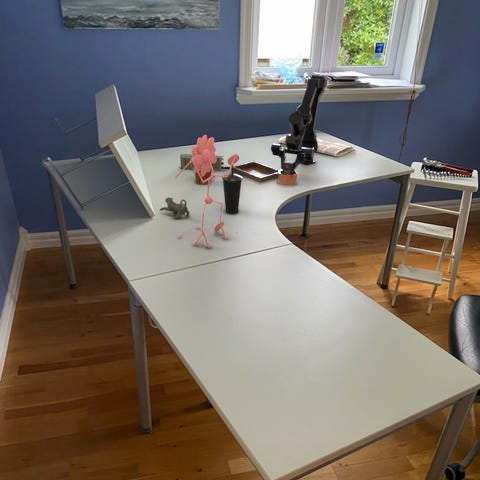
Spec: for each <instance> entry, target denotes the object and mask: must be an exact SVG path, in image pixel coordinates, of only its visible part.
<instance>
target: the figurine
mask: <svg viewBox="0 0 480 480" xmlns="http://www.w3.org/2000/svg"><path fill="white" fill-rule="evenodd" d="M196 140H197V141H196V146H192V147H191V154H192V155H193V158H192V159H191V161H190V162H189V163H188V164H187V165H186V166H185V167H184V168H183V169H181V170H180V172H179V173H178V174H176V176H175V177H174V178H175V179H177V178H178V177H179V176H180V175H181V174H182V173H183V171H185V170H186V169H185V168H186V167H187V166H188V165H189V164H190V163H191V162H192V164H193V165H194V168H193V169H192V171H193V173H194V174H195V173H196V172H197V173H198V175H199V177H200V179H201V181H202V183H204V182H206V181H208V184H207V191H206V196H205V198H204V199H203V200H204V206H203V209H202V219H201V220H202V221H201V231H200V234H199V236H198V237H197V239H196V241H195V242H194V245H196V244H197V243H198V241H199V240H200V239H201V237H202V236H203V238H204V240H205V241H204V242H205V243H206V246H207V248H208V249H210V244H209V242H208V239H207V237H206V233H205V231H206V229H204V217H205V210H206V205H211V204H212V203H213V202H214V203H217V204H220V215H219V221H218V223H217V224H216V225H215V227H214V228H213V230H214V232H215V233H217V232H219V231H220V230H221V232H222V235H223V237H224V240H227V236H226V232H225V230H224V224H225V222H224V221H223V220H222V213H223V203H222V202H219V201H217V200H214V199H213V197H212V196H210V195H209V192H210V184H211V180H213V179H215V178H222V177H224V178H228V177H227V176H229V174H231V168H232V166H233V167H234V165H235V164H237V163H238V161H239V160H240V156H239V154H238V153H235V154H232V155H230V156H229V158H227V164H228V165H229V167H230V169H229V170H228V171H227V173H226V175H227V176H224V175H219V174H216V173H215V171H214V170H213V167H212V165H211V163H212V164H214V163H216V162H217V158H216V156H217V155H216V151H217V149H216V147H215V145H214V144H215V138H214V137H209V138H208V136H207V134H204V135H203V136H202V137H201V136H200V137H198V138H197V139H196ZM210 169H211V177H209V178H207V179H206V180H204V181H203V179H202V177H203V176H204V175H205V174H206V172H210ZM200 170H201V172H200V173H199V171H200ZM200 174H201V175H200ZM201 176H202V177H201ZM197 229H199V227H196V228H195V230H197ZM190 231H194V228H193V229H189V230H185V231H183V233H182V234H180V237H179V238H181V237H182V236H183V235H184V234H186V233H188V232H190ZM235 233H236V234H238V232H237V231H235ZM177 240H178V241H177V242H178V243H179V241H180V239H177Z"/></svg>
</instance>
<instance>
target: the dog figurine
mask: <svg viewBox="0 0 480 480" xmlns="http://www.w3.org/2000/svg"><path fill="white" fill-rule="evenodd" d="M164 202H165V203H166V205H167V207H165V206H164V207H161V208H159V211H160V212H161V211H168V212H172V213H174V214H176V215H175V216H174V217H173V219H174V220H176V219H182V218H183V216H186V217H189V216H190V211H189V210H188V206H187V204H188V203H187V200H186V199H181V200H180V202H179V203H176V202H175V201H174V198H173V197H166V198H165V200H164ZM183 202H184V203H183ZM177 214H178V215H177Z"/></svg>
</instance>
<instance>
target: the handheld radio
mask: <svg viewBox="0 0 480 480" xmlns="http://www.w3.org/2000/svg"><path fill="white" fill-rule="evenodd" d="M179 158H180V169H181V170H183V168H184V167H185V166H186V165H187V164H188V163H189V162H190V161H191V159H192V153H180V154H179ZM216 158H217V162H216V163H214V164H212V167H213V170H214V172H224V170H226V171H227V170H228V171H229V169H230V166H223V165H225V162H224V155H216ZM193 168H194V165H193V164H192V162H191V163H190V164H189V165H188V166H187V167H186V168H185V169H184V170H193Z"/></svg>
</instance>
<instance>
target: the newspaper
mask: <svg viewBox="0 0 480 480" xmlns="http://www.w3.org/2000/svg"><path fill="white" fill-rule="evenodd" d="M288 135H289V136H290V135H291V133H290V134H288ZM285 139H286V135H284V136H282V137H280V138H279V139H278V140H277V142H278V144H279V143H280V144H283V145H286V143H285ZM316 139H317V142H318V151H315V152H316V153H321V154H324V155H328V156H331V157H341V156H343V155H346V154H347V153H349V152H351V151H353V150H355V149H354V147H353V146H351V145H346V144H342V143H338V142H334V141H329V140H325V139H321V138H316ZM313 148H314V147H313Z"/></svg>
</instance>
